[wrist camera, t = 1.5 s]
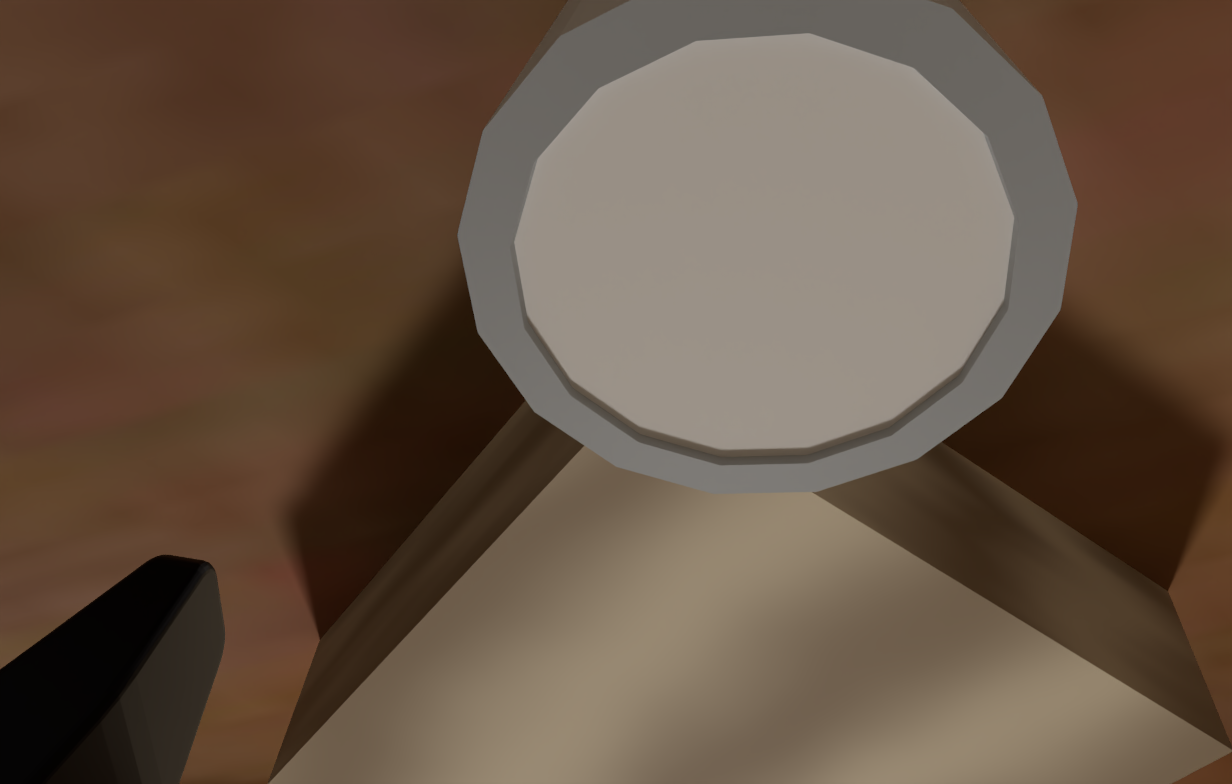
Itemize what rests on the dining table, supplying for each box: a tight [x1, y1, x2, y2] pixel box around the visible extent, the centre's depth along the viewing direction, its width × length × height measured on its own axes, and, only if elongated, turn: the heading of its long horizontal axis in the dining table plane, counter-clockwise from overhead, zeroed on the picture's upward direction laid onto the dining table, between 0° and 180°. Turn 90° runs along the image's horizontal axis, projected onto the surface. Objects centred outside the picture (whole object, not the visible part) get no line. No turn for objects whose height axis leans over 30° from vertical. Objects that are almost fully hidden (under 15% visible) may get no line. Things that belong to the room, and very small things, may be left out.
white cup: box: [457, 0, 1078, 494], centre depth 15 cm, size 7×7×7 cm
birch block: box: [268, 401, 1232, 784], centre depth 25 cm, size 14×14×4 cm
